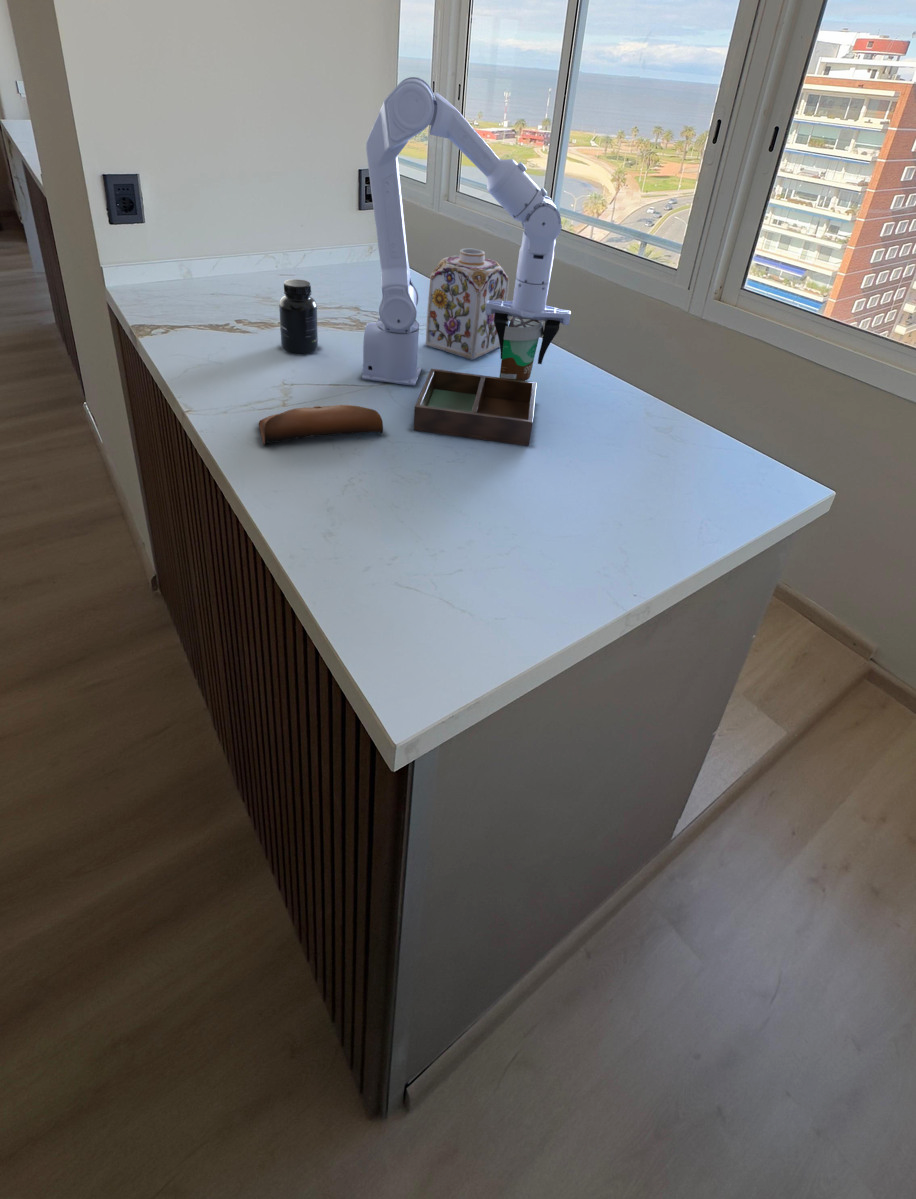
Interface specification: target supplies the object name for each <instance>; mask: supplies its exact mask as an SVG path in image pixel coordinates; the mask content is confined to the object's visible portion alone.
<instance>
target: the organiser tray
mask: <svg viewBox="0 0 916 1199" xmlns="http://www.w3.org/2000/svg"><path fill="white" fill-rule="evenodd" d="M536 393H537V381H536V382H535V381H529V380H526V381H521V380H514V379H506V378H500V376H499V377H497V376H490V375H482V374H476V373H475V374H474V373H468V372H462V371H461V372H460V371H452V370H444V369H439V368H430V370H429V372H428V375H427V377H426V380H425V382H424V384H423V386H422V388H421V391H420V393H419V395H418V398H417V400H416V402H415V405H414V412H413V431H415V432H416V431H417V432H423V433H431V434H438V435H446V436H452V437H461V438H468V439H475V440H481V441H482V440H483V441H491V442H497V443H504V444H510V445H511V444H512V445H519V446H526V447H529V446H530V442H531V436H532V430H533V423H534V416H535V415H534V413H535V406H536V404H535V403H536V396H537V395H536Z"/></svg>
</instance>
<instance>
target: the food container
mask: <svg viewBox="0 0 916 1199" xmlns="http://www.w3.org/2000/svg"><path fill="white" fill-rule="evenodd" d="M509 321H510V322H509V323H508V326H506V327H505V333H504V344H503V352H502V359H501V361H500V369H499V370H500V371H499V378H506V379H514V380H521V381H529V380H530V378H531V374H532V370H533V365H534V361H535V357H536V353H537V348H538V343H539V338H541V337H543V334H544V321H541V320H534V319H526V318H518V317H511V319H510V320H509Z"/></svg>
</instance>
